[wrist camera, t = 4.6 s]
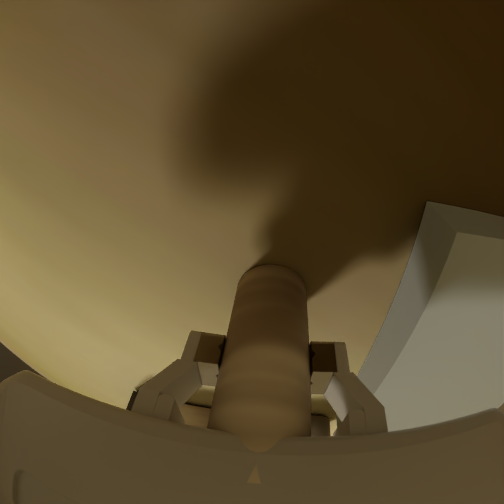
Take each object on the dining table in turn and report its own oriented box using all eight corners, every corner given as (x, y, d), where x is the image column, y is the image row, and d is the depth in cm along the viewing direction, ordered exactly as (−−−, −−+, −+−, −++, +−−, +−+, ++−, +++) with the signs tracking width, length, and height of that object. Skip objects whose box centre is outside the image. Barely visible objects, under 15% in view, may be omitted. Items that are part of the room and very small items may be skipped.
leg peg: (236, 261, 14) (186, 473, 6) (310, 267, 14) (322, 484, 5) (237, 314, 16) (203, 490, 8) (301, 318, 16) (299, 498, 7)
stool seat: (426, 201, 11) (489, 270, 7) (584, 241, 10) (617, 279, 5) (336, 411, 22) (338, 465, 17) (489, 389, 20) (501, 426, 16)
